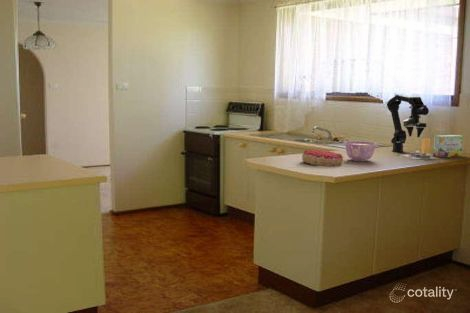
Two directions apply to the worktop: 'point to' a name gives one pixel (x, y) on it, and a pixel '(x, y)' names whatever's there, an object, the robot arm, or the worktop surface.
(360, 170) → the worktop surface
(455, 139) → the snack box
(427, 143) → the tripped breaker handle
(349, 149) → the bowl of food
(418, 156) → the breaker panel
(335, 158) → the cake
